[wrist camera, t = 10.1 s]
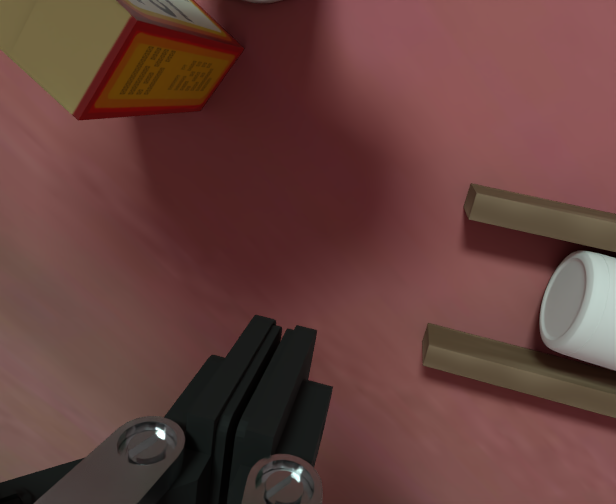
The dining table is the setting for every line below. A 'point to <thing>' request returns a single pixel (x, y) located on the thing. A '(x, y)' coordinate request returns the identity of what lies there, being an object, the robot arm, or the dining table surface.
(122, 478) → the robot arm
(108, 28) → the baking soda box
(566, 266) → the pill bottle
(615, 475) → the dining table surface
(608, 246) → the u rest
